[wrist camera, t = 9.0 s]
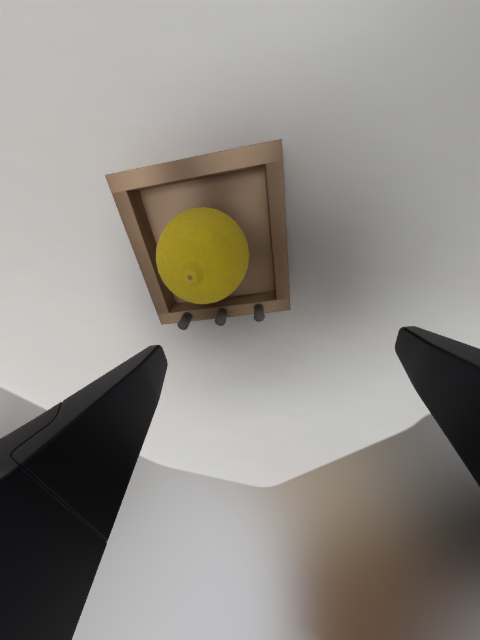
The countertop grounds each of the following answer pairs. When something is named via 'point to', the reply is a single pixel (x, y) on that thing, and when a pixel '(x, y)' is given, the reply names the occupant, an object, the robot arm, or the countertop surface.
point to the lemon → (202, 255)
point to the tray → (226, 196)
